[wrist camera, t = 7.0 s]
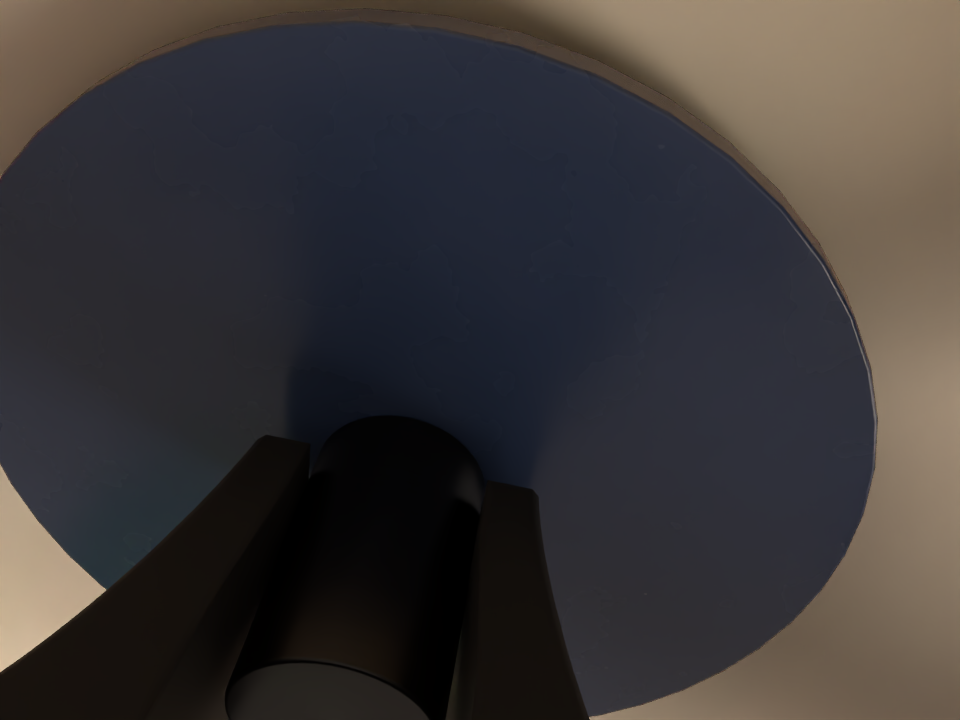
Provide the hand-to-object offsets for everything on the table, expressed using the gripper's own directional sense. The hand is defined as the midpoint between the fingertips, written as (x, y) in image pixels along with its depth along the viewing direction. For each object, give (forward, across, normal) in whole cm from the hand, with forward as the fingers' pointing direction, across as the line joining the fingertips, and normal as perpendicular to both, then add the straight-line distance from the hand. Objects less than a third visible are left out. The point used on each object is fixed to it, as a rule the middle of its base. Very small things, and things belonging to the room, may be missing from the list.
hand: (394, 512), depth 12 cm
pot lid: (+1, 0, 0) cm, 1 cm away
